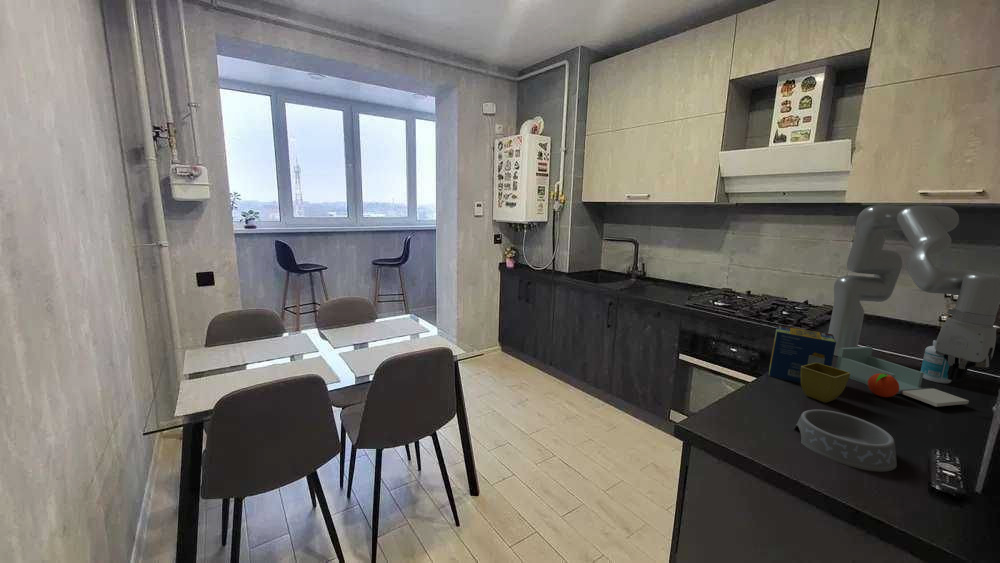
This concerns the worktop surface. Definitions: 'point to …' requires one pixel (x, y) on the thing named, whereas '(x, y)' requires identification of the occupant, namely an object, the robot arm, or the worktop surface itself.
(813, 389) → the flower pot
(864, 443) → the dog bowl
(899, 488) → the worktop surface
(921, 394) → the panel
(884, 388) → the clementine
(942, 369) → the pill bottle
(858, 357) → the grey-green open bin
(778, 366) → the protein box
